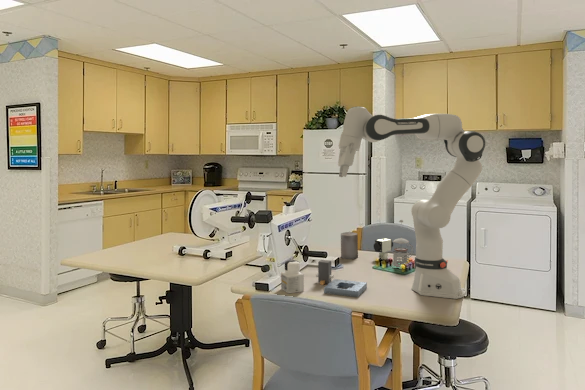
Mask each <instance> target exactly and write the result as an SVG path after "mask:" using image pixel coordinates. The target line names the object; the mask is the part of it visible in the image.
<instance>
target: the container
mask: <svg viewBox="0 0 585 390" xmlns="http://www.w3.org/2000/svg"><path fill="white" fill-rule="evenodd" d="M300 263H301V262H299V261H298V260H295V259H294V260H291V259H290V260H286V261H285V262H284V271H281V273H280V275H281V277H280V283H281V285H280V287H281V290H282V291H284V292H285V293H287V294H294V293H301V292H302V293H303V292H304V291H305V284H304V283H305V282H304V281H305V278H304V277H305V276H304V275H305V274H304V273H302V272H301V269H300V268H301V267H300V266H301V265H300Z"/></svg>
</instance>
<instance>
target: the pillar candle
mask: <svg viewBox="0 0 585 390" xmlns="http://www.w3.org/2000/svg"><path fill="white" fill-rule="evenodd" d="M358 238H359V237H358V233H357V232H353V231H352V232H351V231H348V232H347V231H346V232H341V233H340V258H342V259H345V260H346V259H347V260H354V259H358V258H359V257H358V256H359V251H358V250H359V246H358V245H359V243H358V240H359V239H358Z"/></svg>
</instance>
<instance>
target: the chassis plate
mask: <svg viewBox="0 0 585 390" xmlns="http://www.w3.org/2000/svg"><path fill="white" fill-rule="evenodd" d="M367 287H368V282H364V281H356V280H346V279H339V278H336V279H335V278H334V279H333V280H331V282H330V283H329V284H326V285H325V286H324V287H323V294H329V295H337V296H345V297H346V296H347V297H354V298H355V297H356V298H358V297H360V295H362V294H363V293H364V291H366V290H367Z"/></svg>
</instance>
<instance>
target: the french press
mask: <svg viewBox="0 0 585 390" xmlns="http://www.w3.org/2000/svg"><path fill="white" fill-rule="evenodd" d="M398 222H399V223H400V224H402V223H404V220H403V219H400V220H399V221H398ZM392 242H393V244H394V243H395V244H399V245H407V247H409V246H410V248H411V249H410V250H411V251H410V253H409V251H408V250H409V249H408V248H407V247H402V246H399V247H394V249H393V250H394V251H393V254H392V255H393V256H392V260H393V262H392V265H393V266H396V267H400V266H399V265H401V264H404V263H406V262H408V261H410V260H409V258H411V257H412V256H413V254H414V252H413V249H414V247H413V245H412V244H410V243H409V242H410V241H409V240H407V239H406V238H403V237H400V238H399V237H398V238H395V239H394V240H392ZM398 263H400V264H398Z"/></svg>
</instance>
